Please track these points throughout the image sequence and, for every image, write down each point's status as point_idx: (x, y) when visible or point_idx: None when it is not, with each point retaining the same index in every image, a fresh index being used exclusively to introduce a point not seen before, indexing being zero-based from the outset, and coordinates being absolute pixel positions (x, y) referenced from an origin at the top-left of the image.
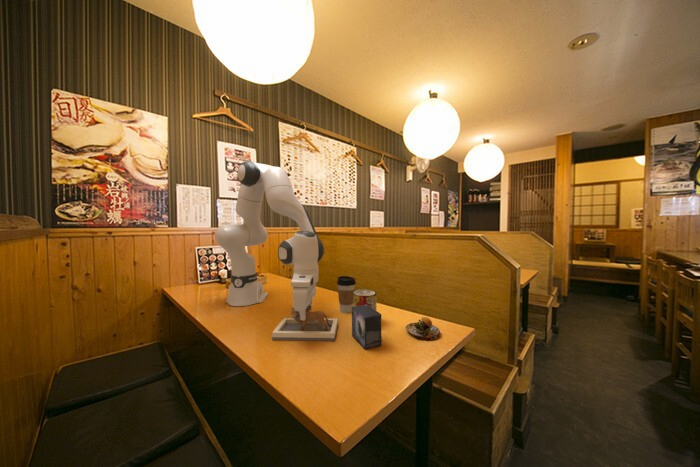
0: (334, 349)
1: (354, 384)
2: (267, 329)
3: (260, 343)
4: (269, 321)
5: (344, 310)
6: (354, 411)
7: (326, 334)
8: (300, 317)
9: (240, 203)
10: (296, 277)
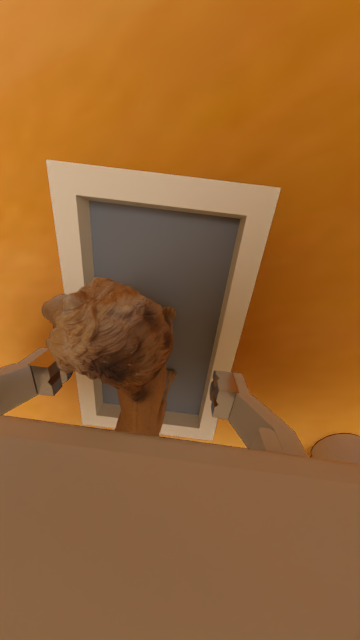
0: (48, 401)
1: None
2: (206, 91)
3: (30, 110)
4: (351, 53)
5: (321, 454)
6: None
7: (81, 402)
8: (31, 356)
9: None
10: None
